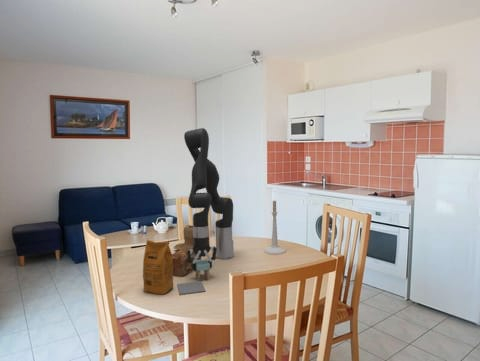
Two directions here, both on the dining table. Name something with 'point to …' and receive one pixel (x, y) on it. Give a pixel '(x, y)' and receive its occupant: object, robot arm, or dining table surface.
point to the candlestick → (274, 236)
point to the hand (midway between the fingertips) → (202, 269)
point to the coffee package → (157, 267)
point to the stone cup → (186, 238)
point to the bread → (182, 262)
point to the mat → (190, 288)
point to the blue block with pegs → (202, 267)
